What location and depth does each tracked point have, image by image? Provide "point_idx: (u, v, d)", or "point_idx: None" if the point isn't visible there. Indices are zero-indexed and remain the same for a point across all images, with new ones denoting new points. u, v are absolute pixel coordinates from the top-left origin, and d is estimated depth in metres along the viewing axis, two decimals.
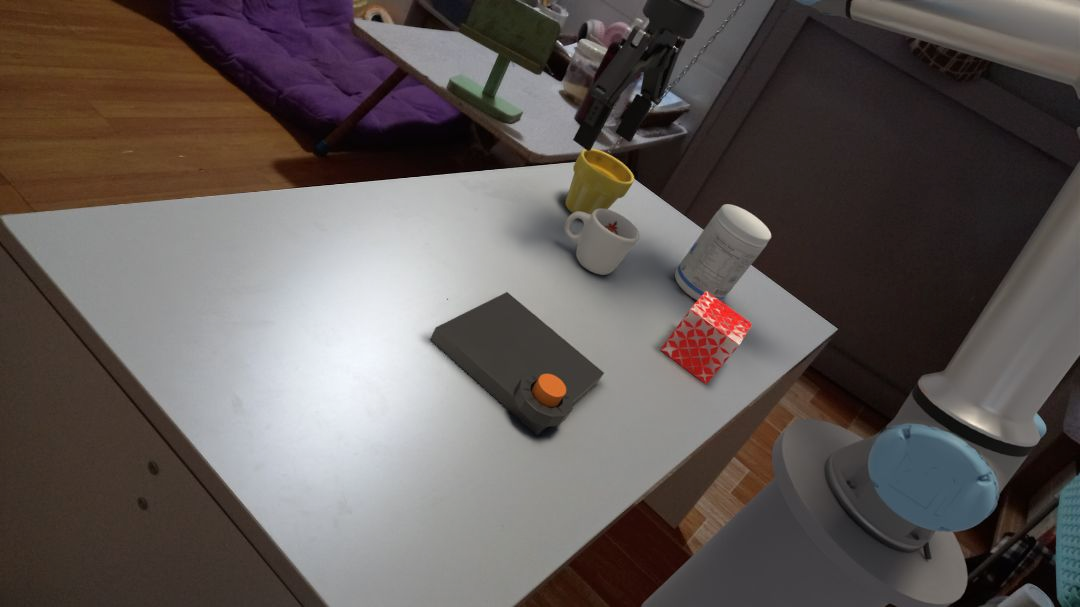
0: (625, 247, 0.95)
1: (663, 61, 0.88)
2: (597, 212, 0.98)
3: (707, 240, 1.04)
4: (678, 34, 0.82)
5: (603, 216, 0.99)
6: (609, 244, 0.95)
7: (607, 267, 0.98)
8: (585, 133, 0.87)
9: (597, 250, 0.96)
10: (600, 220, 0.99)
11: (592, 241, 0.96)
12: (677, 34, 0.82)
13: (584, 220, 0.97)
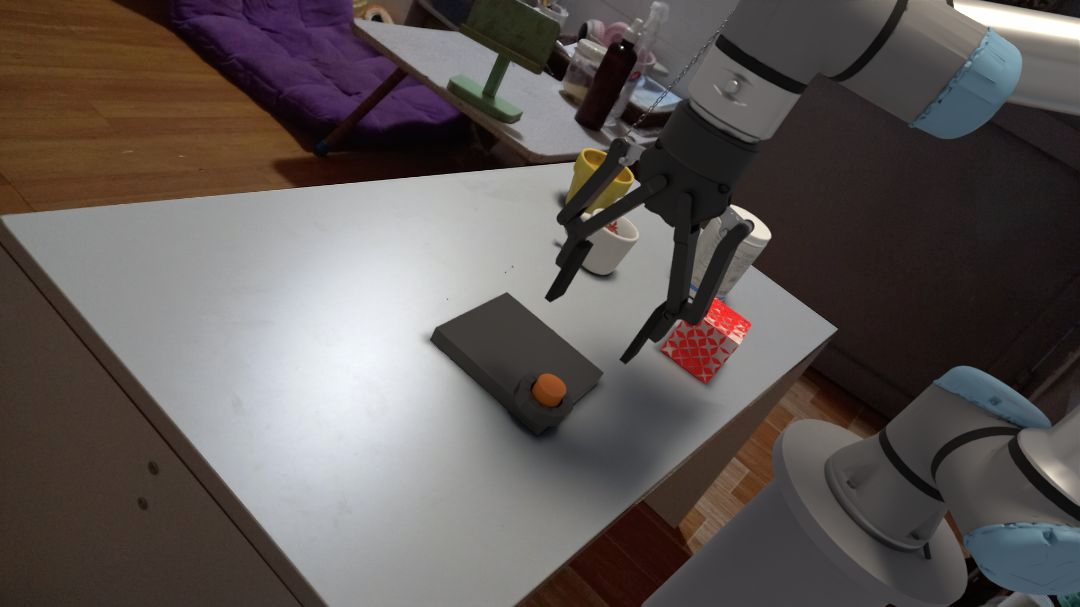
0: (625, 247, 0.95)
1: None
2: (597, 212, 0.98)
3: (707, 240, 1.04)
4: None
5: None
6: (609, 244, 0.95)
7: (607, 267, 0.98)
8: (640, 347, 0.60)
9: (597, 250, 0.96)
10: None
11: (592, 241, 0.96)
12: None
13: (584, 220, 0.97)
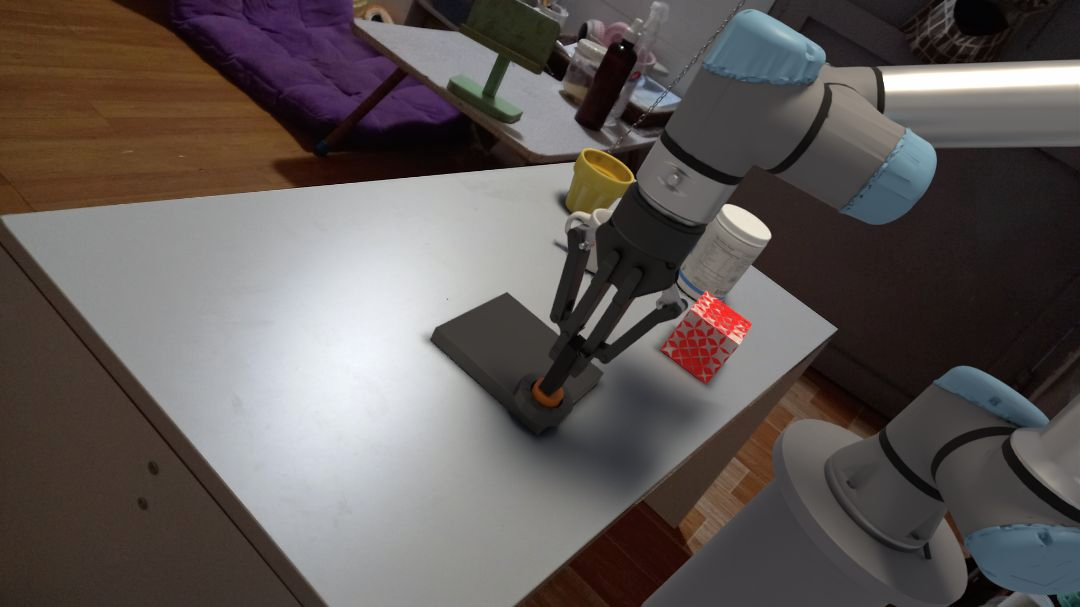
0: None
1: None
2: (597, 212, 0.98)
3: (707, 240, 1.04)
4: None
5: (603, 216, 0.99)
6: None
7: None
8: (562, 380, 0.66)
9: None
10: (600, 220, 0.99)
11: None
12: None
13: (584, 220, 0.97)
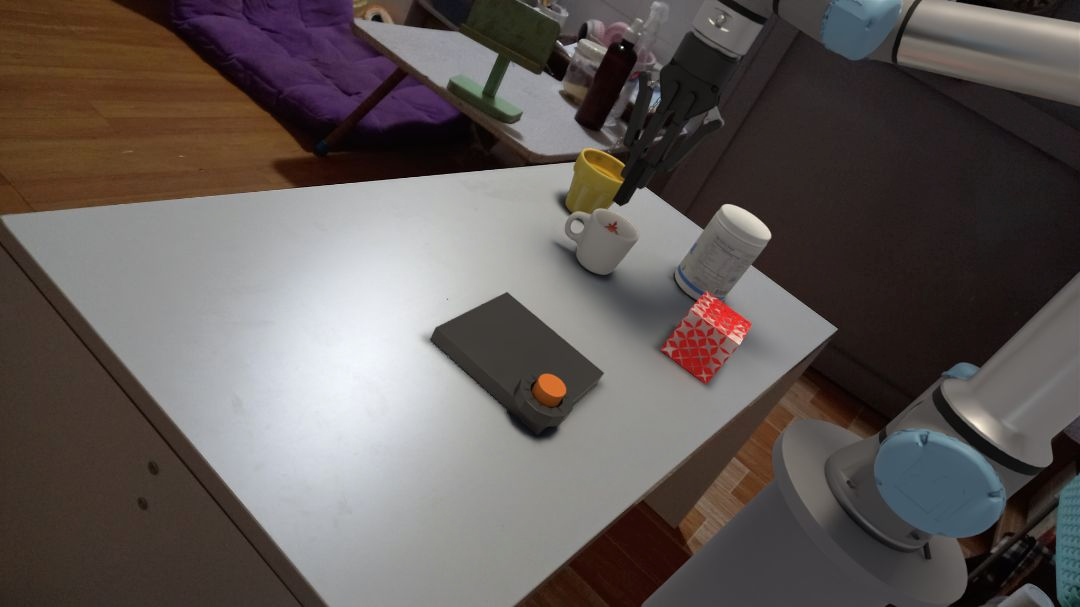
0: (625, 247, 0.95)
1: None
2: (597, 212, 0.98)
3: (707, 240, 1.04)
4: None
5: (603, 216, 0.99)
6: (609, 244, 0.95)
7: (607, 267, 0.98)
8: (630, 194, 0.90)
9: (597, 250, 0.96)
10: (600, 220, 0.99)
11: (592, 241, 0.96)
12: None
13: (584, 220, 0.97)
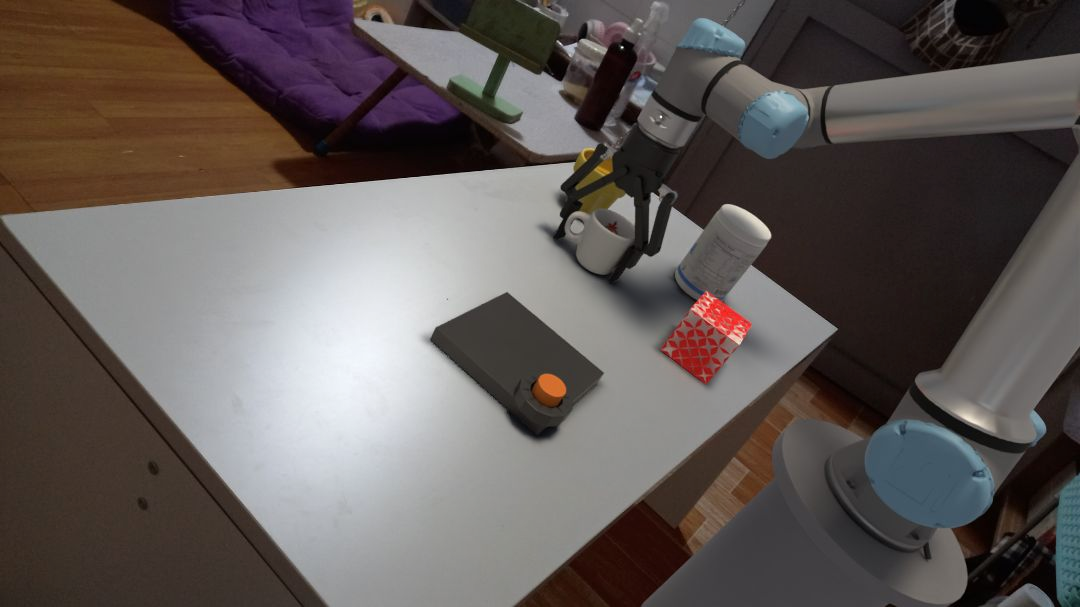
0: (624, 247, 0.95)
1: None
2: (597, 212, 0.98)
3: (707, 240, 1.04)
4: None
5: (603, 216, 0.99)
6: (609, 244, 0.95)
7: (607, 267, 0.98)
8: (620, 272, 0.98)
9: (597, 250, 0.96)
10: (600, 220, 0.99)
11: (592, 241, 0.96)
12: None
13: (584, 220, 0.97)
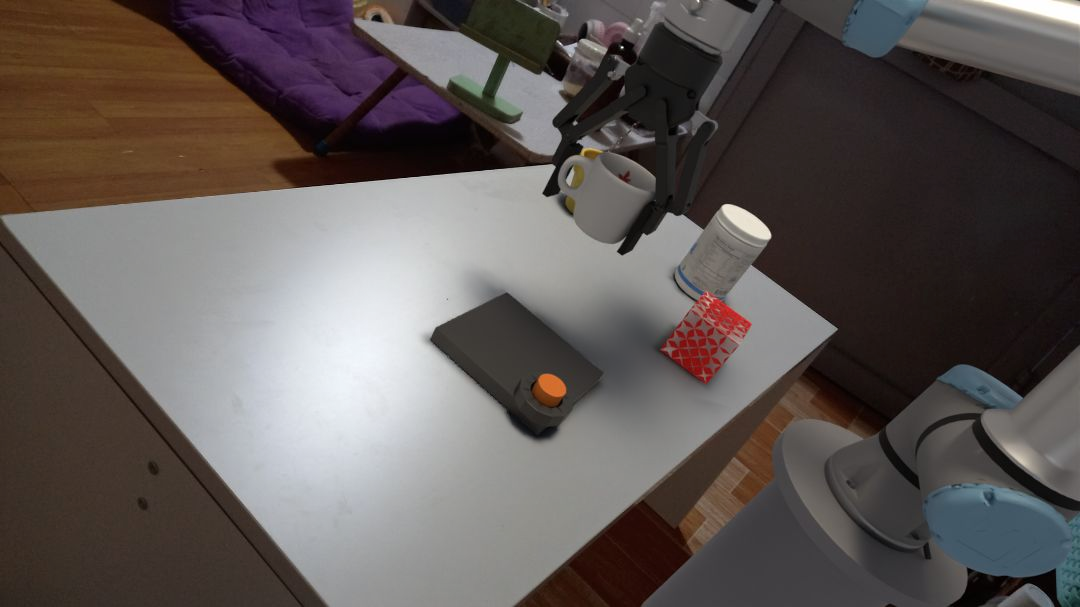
0: (641, 203, 0.68)
1: None
2: (603, 156, 0.70)
3: (707, 240, 1.04)
4: None
5: (611, 164, 0.72)
6: (619, 199, 0.67)
7: (616, 232, 0.70)
8: (634, 240, 0.71)
9: (602, 208, 0.69)
10: (607, 169, 0.72)
11: (595, 195, 0.69)
12: None
13: (585, 167, 0.70)
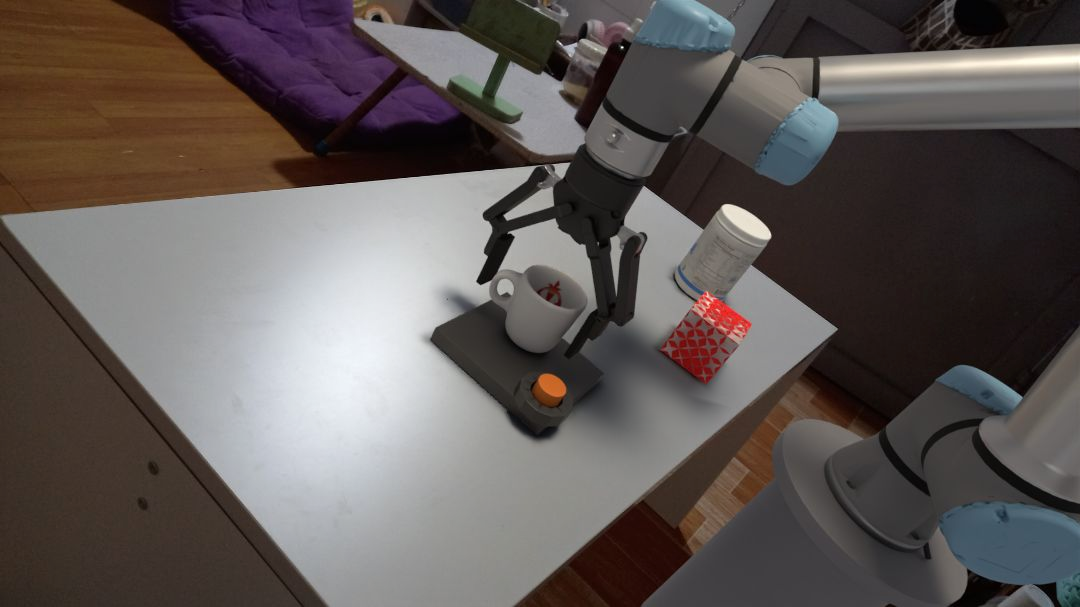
0: (566, 319, 0.70)
1: None
2: (531, 271, 0.73)
3: (707, 240, 1.04)
4: None
5: (541, 275, 0.74)
6: (545, 317, 0.70)
7: (545, 344, 0.73)
8: (580, 344, 0.72)
9: (529, 324, 0.71)
10: (537, 280, 0.75)
11: (523, 311, 0.71)
12: None
13: (514, 282, 0.72)
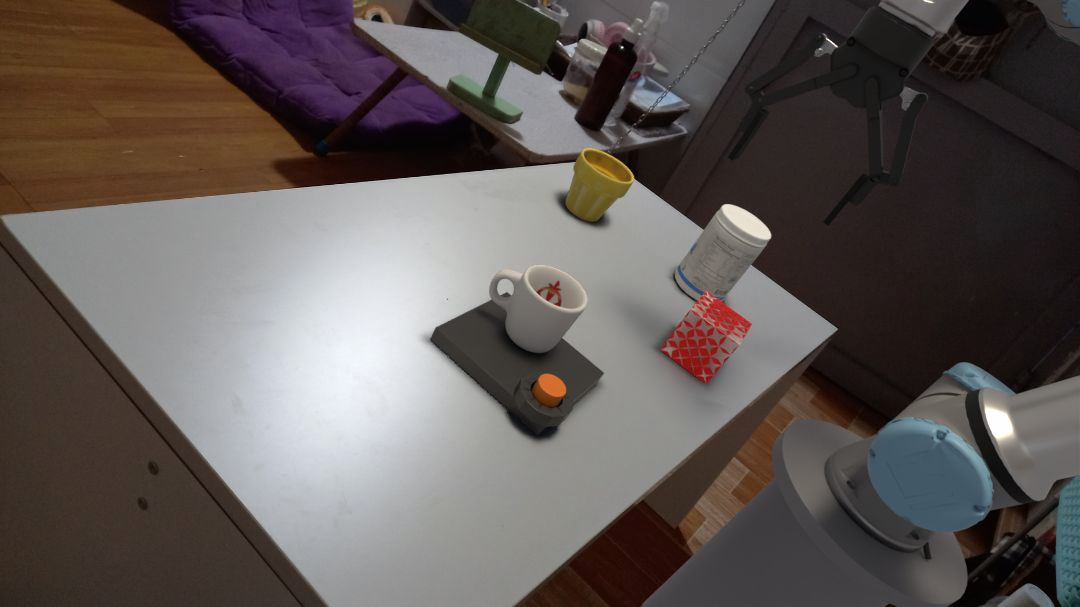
0: (566, 319, 0.70)
1: None
2: (531, 271, 0.73)
3: (707, 240, 1.04)
4: None
5: (541, 275, 0.74)
6: (545, 317, 0.70)
7: (545, 344, 0.73)
8: None
9: (529, 324, 0.71)
10: (537, 280, 0.75)
11: (523, 311, 0.71)
12: None
13: (514, 282, 0.72)
